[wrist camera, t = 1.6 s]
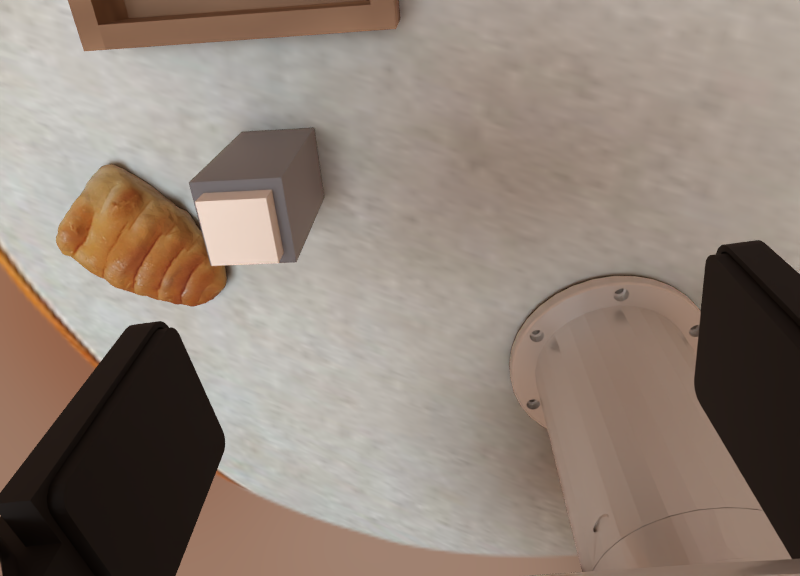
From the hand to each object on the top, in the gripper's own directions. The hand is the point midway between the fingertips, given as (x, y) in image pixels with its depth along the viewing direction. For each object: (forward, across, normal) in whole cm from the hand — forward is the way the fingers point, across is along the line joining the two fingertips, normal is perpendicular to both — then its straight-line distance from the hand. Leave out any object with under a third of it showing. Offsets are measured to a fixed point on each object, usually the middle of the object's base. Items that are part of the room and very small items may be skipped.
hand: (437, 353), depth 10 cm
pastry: (+23, +18, +6) cm, 30 cm away
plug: (+23, +9, +3) cm, 25 cm away
